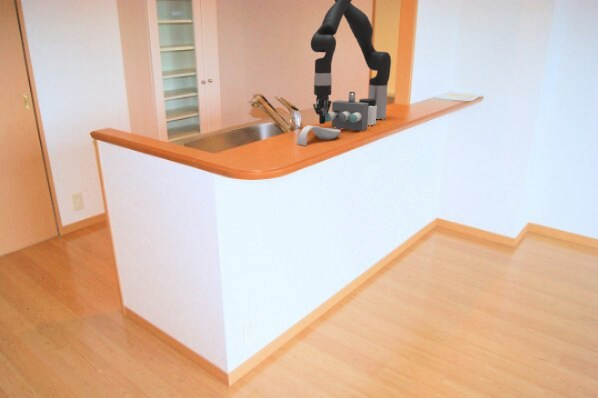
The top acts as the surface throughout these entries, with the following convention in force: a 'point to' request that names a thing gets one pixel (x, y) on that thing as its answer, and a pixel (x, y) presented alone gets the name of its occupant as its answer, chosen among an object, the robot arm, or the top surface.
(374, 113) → the jar
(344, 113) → the knob mid
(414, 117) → the top surface
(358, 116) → the knob right
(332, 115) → the knob left
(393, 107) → the top surface
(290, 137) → the top surface
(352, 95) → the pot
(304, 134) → the spoon rest
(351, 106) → the panel
